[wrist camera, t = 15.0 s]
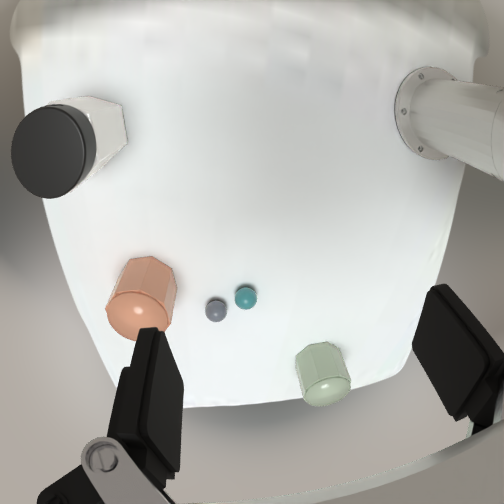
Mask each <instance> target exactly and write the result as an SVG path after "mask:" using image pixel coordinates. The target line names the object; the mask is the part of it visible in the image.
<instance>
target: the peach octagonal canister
mask: <svg viewBox="0 0 504 504" xmlns="http://www.w3.org/2000/svg"><path fill="white" fill-rule="evenodd" d="M176 291H177V286H176V282H175V279H174V275H173V271H172V268H170V267H168V266H167V265H165V264H164V263H162V262H160V261H159V260H157V259H155V258H154V257H152V256H150V257H142V258H135V259H130V260H129V261H128V263H127V265H126V266H125V268H124V269H123V271H122V273H121V274H120V276H119V278H118V280H117V282H116V285H115V287H114V289H113V291H112V294H111V296H110V298H109V301H108V303H107V305H106V308H105V310H106V312H107V317H108V320H109V323H110V324H111V326H112V327H113V329H114V330H115V331H116V332H117V333H119V334H120V335H122V336H123V337H125V338H127V339H130V340H133V341H136V340H137V336H138V332H139V329H140V328H149V327H157V328H158V330H159V331H164V332H165V331H166V329H167V328H168V326H169V325H170V324H171V320H172V314H173V308H174V302H175V297H176Z"/></svg>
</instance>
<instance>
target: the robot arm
mask: <svg viewBox="0 0 504 504" xmlns="http://www.w3.org/2000/svg"><path fill="white" fill-rule="evenodd" d="M401 109H402V112H401ZM395 115H396V122H397V126H398V129H399V132H400V134H401V136H402V139H403V140H404V141H405V143H406V144H407V146H408V147H409V148H410V149H411V150H412V151H413V152H415V153H416V154H418V155H420V156H422V157H424V158H427V159H431V160H441V159H445V158H447V157H449V156H451V157H453V158H455V159H457V160H460V161H462V162H464V163H466V164H468V165H471V166H473V167H475V168H477V169H479V170H481V171H483V172H485V173H487V174H489V175H491V176H493V177H495V178H497V179H499V180H501V181H502V182H504V88H502V87H497V86H491V85H484V84H477V83H470V82H462V81H457V79H456V78H455V77H453V76H452V75H451V74H450V73H448V72H446V71H445V70H442V69H439V68H433V67H426V68H421V69H417V70H415V71H414V72H412V73H411V74H409V75H408V76H407V77H406V78H405V80H404V81H403V83H402V84H401V86H400V88H399V91H398V94H397V98H396V103H395ZM412 348H413V351H414V353H415V355H416V356H417V358H418V360H419V362H420V363H421V365H422V367H423V368H424V370H425V372H426V374H427V375H428V377H429V379H430V381H431V383H432V384H433V386H434V388H435V390H436V391H437V393H438V395H439V397H440V399H441V401H442V403H443V405H444V406H445V408H446V410H447V412H448V414H449V415H450V416H453V418H454V419H455V421H458V420H461V419H463V418H465V417H467V415H468V417H469V418H470V422H469V427H468V431H467V436H466V439H464V440H462V441H460V442H458V443H456V444H454V445H452V446H449V447H447V448H445V449H443V450H441V451H438V452H436V453H434V454H431V455H429V456H426V457H424V458H421V459H419V460H416V461H414V462H411V463H408V464H406V465H404V466H400V467H397V468H395V469H392V470H389V471H385V472H383V473H379V474H376V475H373V476H370V477H366V478H363V479H359V480H355V481H352V482H348V483H344V484H340V485H336V486H332V487H327V488H323V489H318V490H313V491H308V492H303V493H297V494H291V495H284V496H277V497H271V498H262V499H252V500H242V501H230V502H214V503H191V504H504V353H503V351H502V350H501V349H500V347H499V346H498V345H497V343H496V342H495V341H494V340H493V338H492V337H491V336H490V334H489V333H488V332H487V331H486V329H485V328H484V327H483V326H482V324H481V323H480V322H479V321H478V320H477V318H476V317H475V316H474V315H473V314H472V312H471V311H470V310H469V309H468V308H467V306H466V305H465V304H464V303H463V302H462V301H461V299H459V297H458V296H457V295H456V294H455V293H454V291H453V290H452V289H451V288H450V287H449V286H448V285H447V284H441V285H436V286H432V287H431V288H430V291H428V292H427V295H426V298H425V302H424V306H423V309H422V313H421V316H420V319H419V323H418V326H417V329H416V332H415V335H414V338H413V341H412ZM183 394H184V385H183V380H182V377H181V375H180V372H179V370H178V367H177V365H176V362H175V360H174V357H173V354H172V352H171V349H170V346H169V344H168V341H167V338H166V336H165V333H164V331H159V330H158V328H157V327H149V328H140V329H139V332H138V336H137V340H136V344H135V348H134V352H133V356H132V360H131V364H130V367H124V368H123V369H122V372H121V375H120V379H119V383H118V387H117V391H116V396H115V400H114V404H113V409H112V414H111V418H110V423H109V428H108V433H107V437H99V438H96V439H93V440H91V441H90V442H89V443H88V444H86V446H85V447H84V449H83V451H82V454H81V465H79V466H78V467H77V468H75V469H74V470H72V471H71V472H69V473H68V474H66V475H65V476H63V477H62V478H60V479H59V480H57V481H56V482H55V483H53V484H51V485H50V486H49V487H47V488H45V489H44V490H43V491H42V492H41V493H40V494H39V496H38V499H37V504H177V503H176V502H175V501H174V500H173V499H172V498H171V497H170V495H169V494H168V493H167V492H166V491H165V490H164V488H165V487H166V479H175V472H179V470H180V453H181V452H180V451H181V429H182V411H183V410H182V409H183Z"/></svg>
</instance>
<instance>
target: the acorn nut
mask: <svg viewBox="0 0 504 504" xmlns="http://www.w3.org/2000/svg"><path fill="white" fill-rule="evenodd" d="M296 371H297V375H298V379H299V383H300V387H301V391H302V395H303V399H304V401H306V402H307V403H308V404H310V405H312V406H327V405H331V404H334V403H336V402H338V401H340V400H341V399H343V398H344V397H345V396H346V395H347V394H348V393H349V391H350V388H351V387H350V383H351V378H350V376H349V373H348V371H347V368H346V366H345V363H344V361H343V358H342V355H341V353H340V350H339V348H337V347H335V346H334V345H332V344H330V343H329V342H323V343H317V344H312V345H308V346H307V347H306V348H305V349H304V350H302V351H301V352H300V353H299V354H297V355H296Z"/></svg>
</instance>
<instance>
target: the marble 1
mask: <svg viewBox="0 0 504 504" xmlns="http://www.w3.org/2000/svg"><path fill="white" fill-rule="evenodd" d="M205 314H206V316H207V318H208V319H209V320H210V321H212V322H220V321H222V320H223V319H224V318H225V317H226V314H227V309H226V306H225V305H224V304H223V303H222V302H220V301H212V302H210V303H209V304H208V305H207V306H206V309H205Z"/></svg>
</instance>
